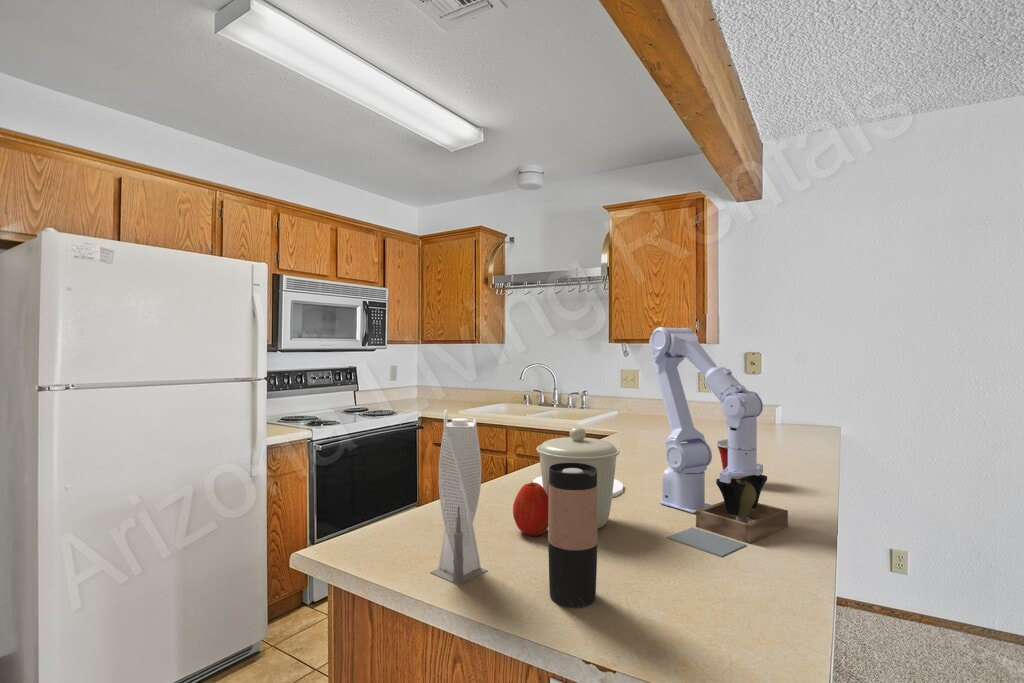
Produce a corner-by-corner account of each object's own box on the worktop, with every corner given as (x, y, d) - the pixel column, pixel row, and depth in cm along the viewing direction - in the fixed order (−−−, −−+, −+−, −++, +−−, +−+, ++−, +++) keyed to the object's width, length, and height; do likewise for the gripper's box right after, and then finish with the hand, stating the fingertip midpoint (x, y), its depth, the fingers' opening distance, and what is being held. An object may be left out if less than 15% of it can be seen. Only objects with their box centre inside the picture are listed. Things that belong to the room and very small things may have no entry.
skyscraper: (424, 572, 90) (425, 410, 90) (458, 557, 96) (458, 406, 96) (458, 587, 85) (459, 415, 85) (492, 570, 91) (492, 410, 91)
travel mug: (544, 585, 84) (544, 462, 84) (590, 584, 85) (591, 461, 85) (552, 609, 77) (552, 474, 77) (603, 607, 77) (603, 473, 77)
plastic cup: (707, 480, 151) (707, 438, 151) (739, 477, 153) (739, 437, 153) (731, 490, 140) (731, 446, 140) (765, 487, 143) (765, 444, 143)
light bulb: (759, 532, 109) (759, 484, 109) (731, 530, 110) (731, 483, 110) (752, 523, 114) (752, 477, 114) (725, 521, 115) (725, 476, 115)
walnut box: (696, 526, 112) (696, 510, 112) (735, 512, 122) (735, 497, 122) (750, 543, 102) (750, 526, 102) (787, 526, 112) (787, 510, 112)
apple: (520, 523, 114) (520, 474, 114) (556, 527, 111) (556, 477, 111) (507, 536, 106) (507, 484, 106) (546, 541, 103) (546, 487, 103)
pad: (666, 537, 106) (666, 536, 106) (692, 528, 111) (692, 527, 111) (721, 557, 96) (721, 555, 96) (746, 545, 102) (746, 544, 102)
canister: (624, 515, 119) (624, 423, 120) (613, 543, 102) (613, 436, 102) (548, 507, 125) (548, 419, 125) (525, 532, 108) (526, 431, 108)
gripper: (742, 455, 105) (742, 522, 105) (776, 446, 114) (776, 509, 113) (710, 449, 110) (710, 513, 110) (745, 442, 119) (745, 501, 119)
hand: (742, 510), depth 112 cm, fingers open, 7 cm apart
